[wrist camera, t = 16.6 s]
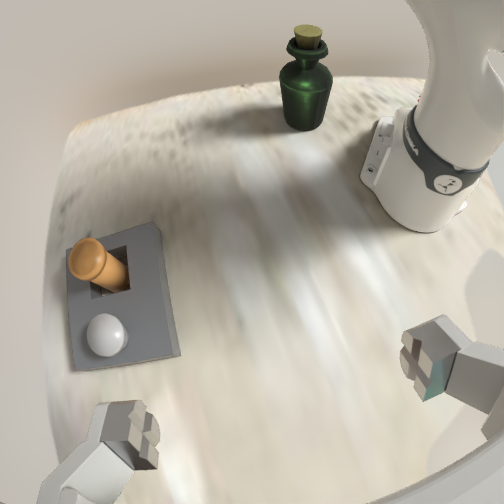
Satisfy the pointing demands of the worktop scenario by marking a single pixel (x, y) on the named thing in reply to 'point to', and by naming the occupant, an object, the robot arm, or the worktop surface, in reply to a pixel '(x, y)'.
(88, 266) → the mushroom head peg
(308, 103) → the potion bottle
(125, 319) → the gray peg hole board
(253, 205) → the worktop surface
